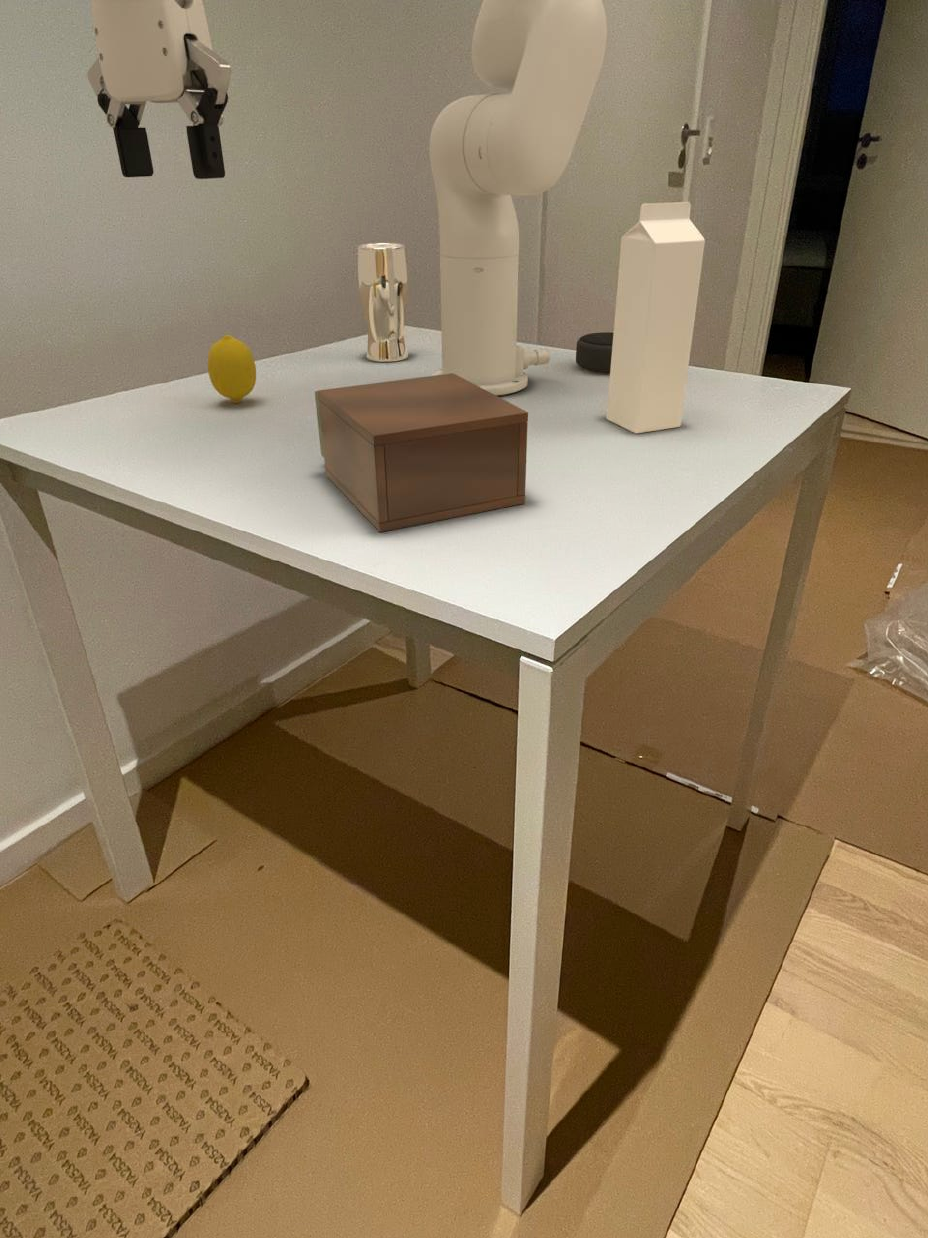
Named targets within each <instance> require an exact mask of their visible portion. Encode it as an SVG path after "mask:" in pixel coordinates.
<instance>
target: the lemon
mask: <svg viewBox="0 0 928 1238" xmlns="http://www.w3.org/2000/svg"><path fill="white" fill-rule="evenodd" d="M207 372H208V376H209V380H210V382H211V385H212V386H213V388H214V389H215V391H216V392H217V393H218V394H220V395H221V396H223V397H224V398H227V399H230V400H231V402H233V403H234V404H239V403H241V402H242V401H243V399H244V398H245V397H246V396H248V395H250V393H251V392H252V391H253V389H254V388H255V385H256V382H257V366H256V363H255V359H254V357H253V354H252V351H251V350H250V348H249V347H248V346H247V345H246V344H245V343H244V342H242V341H241V340H239V339H237V338H234V337H232V336H231V335H230V334H225V335H224V336H223V337H222V338H220V339H219V340H217V341H216V342H215V343H214V344H212V346H211V347H210V349H209V352H208V356H207Z"/></svg>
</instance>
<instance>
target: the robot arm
mask: <svg viewBox="0 0 928 1238" xmlns="http://www.w3.org/2000/svg"><path fill="white" fill-rule="evenodd" d="M90 7H91V14H92V23H93V31H94V37H95V43H96V44H95V45H96V50H97V54H98V57H97V59H96V60H95V61H94V63H92V65H91V66H90V68H89V70H87V79H88V81H89V83H90V86H91V88H92V89H93V91H94V94H95V96H96V97H97V98H96V99H97V104H98V106H99V108H100V109H101V110H102V111H103V113H104V114H105V116H106V123H107V124H108V126H109V127H110V128H112V130H113V134H114V135H113V136H114V140H115V144H116V150H117V151H116V152H117V155H118V161H119V165H120V170H121V174H122V177H124V178H144V177H152V176H153V175H154V167H153V161H152V155H151V154H152V153H151V149H150V143H149V137H148V132H147V129H146V127H140V125H141V121H142V118H143V115H144V111H145V108H146V104H147V102H151V103H155V104H175V103H176V104H178V105H179V106H180V108H181V109H182V111H183V112H184V114H185V115H186V117H187V118H188V120H189V122H190V124H192V125H186V126H185V127H186V128H185V129H186V137H187V144H188V149H189V155H190V162H191V169H192V174H193V176H194V178H195V179H197V180H211V179H223V178H225V176H226V170H225V161H224V155H223V146H222V141H221V134H220V127H221V126H222V125H223V124H224V114H223V113H224V111H225V109H226V106H227V104H228V102H229V95H228V91H229V87H230V80H231V74H232V66H231V64H230V63H229V62H228V61H227V60H226V59H224V58H223V57H221V56H220V55H219V54H217V53H216V52H214V51H213V46H212V40H211V35H210V29H209V24H208V20H207V16H206V12H205V6H204V3H203V0H90ZM607 23H608V22H607V15H606V10H605V6H604V3H603V0H482V3H481V6H480V9H479V13H478V16H477V18H476V23H475V26H474V31H473V34H472V40H471V48H470V49H471V50H470V53H471V56H470V57H471V63H472V66H473V70H474V72H475V74H476V75H477V77H478V79H480V81H481V82H482V83H483V84H485V85H486V86H488V87H489V88H493V89H495V90H498V91H506V92H509V93H485V94H472V95H467V96H463V97H460V98H458V99H456V100H453V101H451V102H450V103H449V104H448V105H446V106H445V107H443V109H442V110H441V111H440V112H439V114H438V116H437V117H436V119H435V121H434V123H433V125H432V128H431V132H430V137H429V162H430V168H431V173H432V179H433V184H434V190H435V195H436V197H435V198H436V205H437V212H438V213H437V214H438V215H437V216H438V228H439V231H438V232H439V280H440V281H439V282H440V283H439V285H440V286H439V287H440V326H441V328H440V334H441V335H440V337H441V368H439V369H437V370H435V371H434V372H432V373H431V374H430V376H435V375H443V374H451V373H454V374H456V375H458V376H460V377H461V378H463V379H465V380H467V381H469V382H471V383H473V384H475V385H477V386H479V387H481V388H482V389H484V390H486V391H488V392H490V393H492V394H494V395H496V396H503V395H509V394H513V393H517V392H519V391H522V390H524V389H525V388H526V387H527V386H528V382H529V381H528V380H529V375H528V374H527V373H526V372H525V371H524V370H527V369H529V367H530V366H542V365H547V364H549V363H550V360H551V355H550V351H549V349H547V348H541V349H533V350H531V349H530V348H524V347H521V346H518V345H517V341H518V340H517V339H518V337H517V336H518V307H519V304H518V303H519V302H518V301H519V268H520V267H519V265H520V264H519V263H520V261H519V260H520V258H519V257H520V228H519V219H518V216H517V211H516V208H515V204H514V201H513V198H512V196H517V197H521V196H523V197H524V196H525V197H528V196H529V197H530V196H531V197H532V196H536V195H541V194H543V193H545V192H546V191H548V190H550V189H551V188H552V187H553V186H554V185H555V184H556V183H557V182H558V181H559V180H560V178H561V177H562V175H563V173H564V172H565V170H566V168H567V166H568V163H569V162H570V159H571V157H572V154H573V151H574V149H575V146H576V143H577V140H578V138H579V134H580V132H581V129H582V126H583V123H584V120H585V117H586V114H587V111H588V108H589V106H590V103H591V100H592V97H593V94H594V91H595V88H596V86H597V83H598V80H599V77H600V74H601V70H602V67H603V64H604V59H605V56H606V50H607V49H606V48H607V37H608V24H607ZM127 105H129V107H127Z"/></svg>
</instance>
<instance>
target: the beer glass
mask: <svg viewBox="0 0 928 1238" xmlns="http://www.w3.org/2000/svg"><path fill="white" fill-rule="evenodd" d="M407 260H408V259H407V251H406V244H404V243H398V242H370V243H361V244H358V245H357V280H358V289H359V296H360V300H361V305H362V309H363V313H364V318H365V323H366V329H367V344H366V359H367V360H368V361H372V362H380V363H391V362H401V361H404V360H406V359H407V358H408V357H409V351H408V346H407V343H406V336H405V335H406V334H405V322H406V315H407V314H406V313H407V305H408V296H409V270H408V261H407Z"/></svg>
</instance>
